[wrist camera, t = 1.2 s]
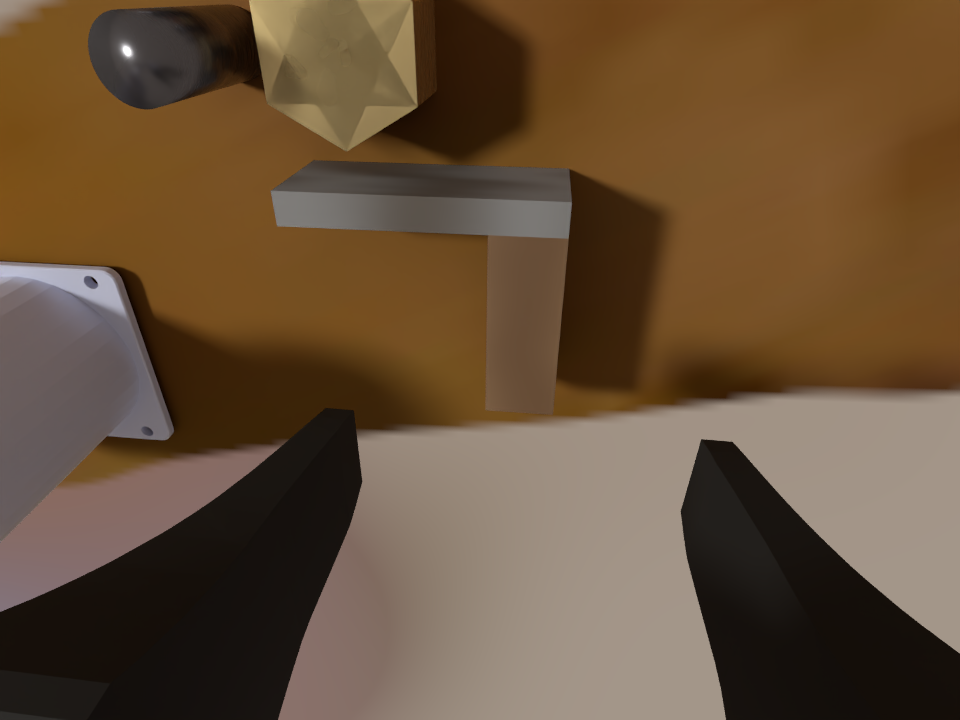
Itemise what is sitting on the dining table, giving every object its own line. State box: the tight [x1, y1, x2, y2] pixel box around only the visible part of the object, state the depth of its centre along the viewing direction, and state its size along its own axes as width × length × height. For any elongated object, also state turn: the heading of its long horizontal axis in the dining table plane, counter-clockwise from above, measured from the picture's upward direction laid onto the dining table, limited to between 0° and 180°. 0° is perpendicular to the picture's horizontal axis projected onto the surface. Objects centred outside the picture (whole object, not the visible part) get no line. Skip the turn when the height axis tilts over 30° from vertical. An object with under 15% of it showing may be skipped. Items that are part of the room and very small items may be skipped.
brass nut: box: [249, 0, 437, 151], centre depth 16 cm, size 5×4×3 cm
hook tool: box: [271, 160, 572, 415], centre depth 19 cm, size 8×7×4 cm
